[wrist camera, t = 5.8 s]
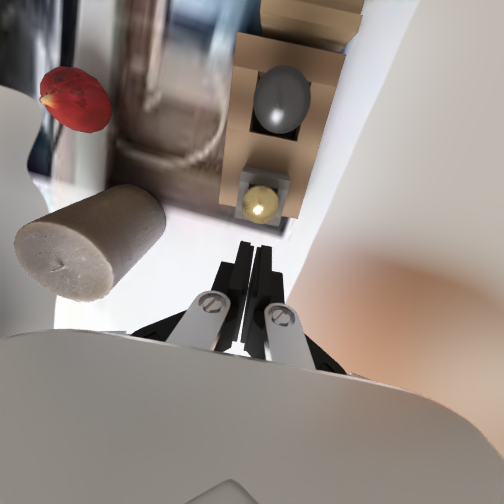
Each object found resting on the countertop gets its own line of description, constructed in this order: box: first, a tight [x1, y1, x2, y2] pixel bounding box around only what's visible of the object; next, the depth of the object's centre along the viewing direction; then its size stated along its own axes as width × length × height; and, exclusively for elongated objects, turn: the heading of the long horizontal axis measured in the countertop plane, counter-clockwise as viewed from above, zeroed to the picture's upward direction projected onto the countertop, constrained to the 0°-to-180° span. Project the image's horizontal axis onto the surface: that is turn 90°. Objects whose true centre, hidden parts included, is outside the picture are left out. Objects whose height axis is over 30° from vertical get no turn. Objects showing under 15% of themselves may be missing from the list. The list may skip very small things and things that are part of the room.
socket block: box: [219, 32, 346, 226], centre depth 25 cm, size 16×10×8 cm, turn 170°
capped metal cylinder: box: [253, 65, 311, 134], centre depth 21 cm, size 4×4×12 cm
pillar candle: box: [14, 184, 166, 302], centre depth 28 cm, size 10×10×15 cm
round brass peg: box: [242, 185, 279, 223], centre depth 24 cm, size 4×4×4 cm
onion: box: [39, 66, 112, 133], centre depth 24 cm, size 6×6×8 cm
